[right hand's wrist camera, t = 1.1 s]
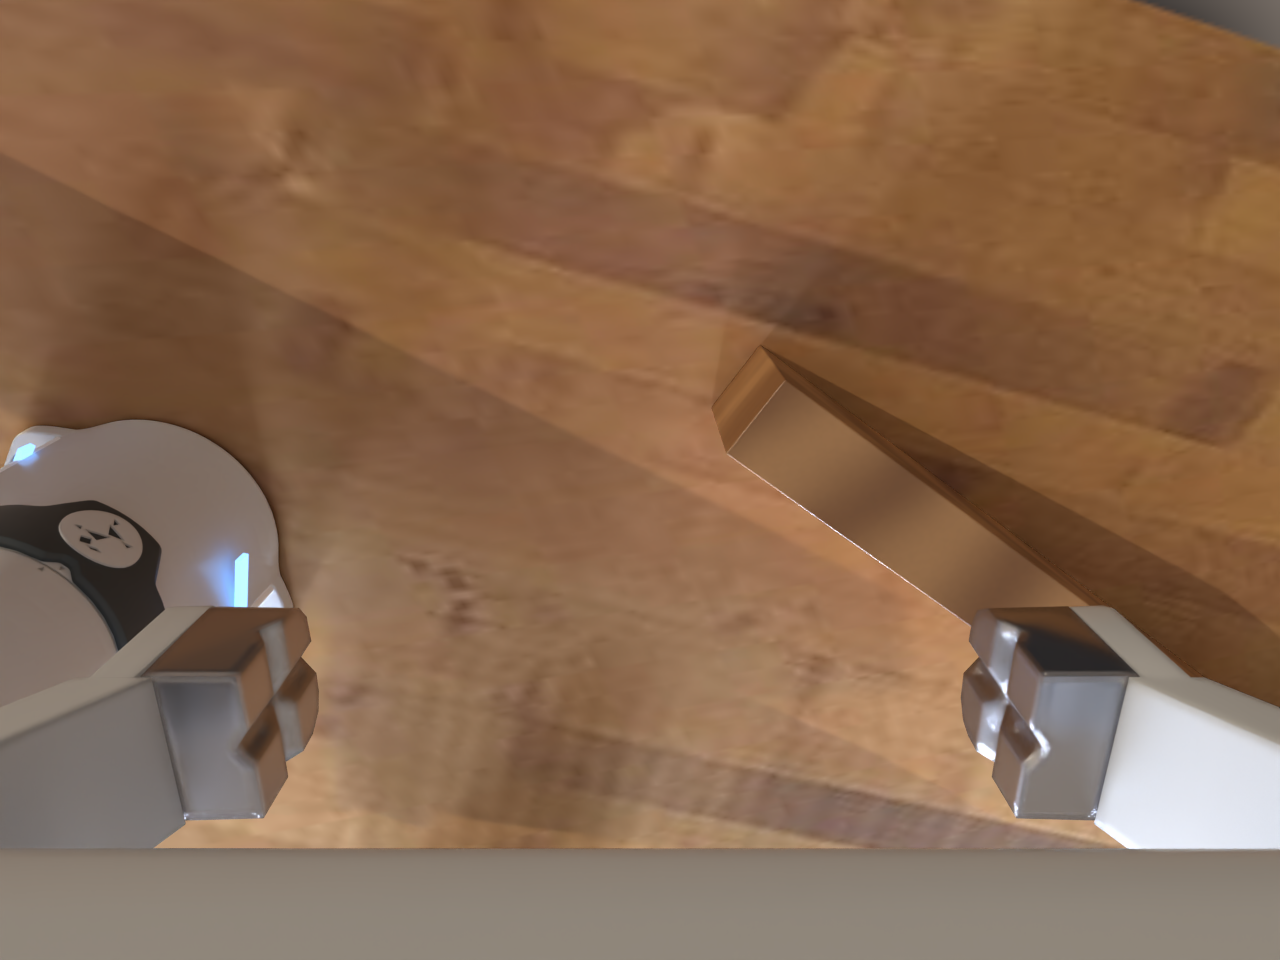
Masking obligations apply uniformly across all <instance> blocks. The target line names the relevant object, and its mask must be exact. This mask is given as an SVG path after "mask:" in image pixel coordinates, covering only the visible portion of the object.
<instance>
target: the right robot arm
mask: <svg viewBox="0 0 1280 960" xmlns="http://www.w3.org/2000/svg"><path fill="white" fill-rule="evenodd" d="M310 642H311V637H310V632H309V627H308V622H307V617H306V616H305V614H304V613H303V612H302V611H301V610H300V609H299V608H293V603H292V600H291V597H290V594H289V592H288V590H287V588H286V585H285V583H284V581H283V579H282V577H281V575H280V571H279V544H278V534H277V528H276V524H275V520H274V517H273V513H272V511H271V508H270V506H269V504H268V502H267V500H266V498H265V496H264V494H263V492H262V490H261V489H260V487H259V486H258V484H257V483H256V481H255V480H254V479H253V477H252V476H251V475H250V474H249V473H248V471H247V470H246V469H245V468H244V467H243V466H242V465H241V464H240V463H239V462H238V461H237V460H236V459H235V458H234V457H232V456H231V455H230V454H229V453H228V452H226V451H225V450H224V449H222V448H221V447H219V446H218V445H217V444H215V443H213V442H212V441H210V440H208V439H207V438H205V437H203V436H201V435H199V434H197V433H195V432H192V431H190V430H188V429H185V428H182V427H179V426H176V425H173V424H168V423H164V422H159V421H152V420H122V421H115V422H110V423H106V424H102V425H99V426H95V427H91V428H86V429H79V430H75V429H69V428H62V427H55V426H33V427H30V428H28V429H26V430H24V431H23V432H21V433H19V434H18V435H17V436H16V437H15V438H14V440H13V442H12V444H11V447H10V450H9V453H8V456H7V459H6V462H5V464H4V467H2V468H0V960H1280V707H1277V706H1275V705H1272V704H1270V703H1267V702H1265V701H1262V700H1260V699H1257V698H1255V697H1252V696H1250V695H1247V694H1245V693H1242V692H1240V691H1237V690H1235V689H1232V688H1230V687H1227V686H1225V685H1222V684H1220V683H1217V682H1215V681H1212V680H1210V679H1207V678H1205V677H1190V676H1189V675H1188V674H1187V673H1185V672H1184V671H1183V670H1182V669H1181V668H1180V667H1179V666H1178V665H1176V664H1175V663H1174V662H1173V661H1172V660H1171V659H1170V658H1169V657H1168V656H1166V655H1165V654H1164V653H1163V652H1162V651H1161V650H1160V649H1159V648H1157V647H1156V646H1155V645H1154V644H1153V643H1152V642H1151V641H1150V640H1149V639H1147V638H1146V637H1145V636H1144V635H1143V634H1142V633H1141V632H1140V631H1139V630H1137V629H1136V628H1135V627H1134V626H1133V625H1132V624H1131V623H1130V622H1128V621H1127V620H1126V619H1125V618H1124V617H1123V616H1122V615H1121V614H1120V613H1118V612H1117V611H1116V610H1115V609H1114V608H1110V607H1107V606H1103V605H1099V606H1077V607H1069V606H1056V607H1014V608H986V609H980V610H977V612H976V615H975V617H974V619H973V621H972V625H971V631H970V637H969V642H970V644H971V645H972V647H973V648H974V650H975V651H976V653H977V655H978V656H979V658H978V659H977V660H976V661H975V662H974V663H973V664H972V665H971V666H970V667H969V668H968V669H967V670H966V671H965V672H964V675H963V683H962V692H961V704H962V714H963V721H964V724H965V727H966V730H967V734H968V736H969V738H970V740H971V742H972V744H973V745H974V747H975V749H976V751H978V752H979V753H981V754H983V755H984V756H986V757H987V758H989V759H991V760H992V761H994V767H993V773H992V778H993V780H994V781H995V783H996V785H997V786H998V788H999V790H1000V791H1001V793H1002V795H1003V796H1004V798H1005V800H1006V801H1007V803H1008V805H1009V806H1010V808H1011V810H1012V811H1013V813H1014V815H1015V816H1016V818H1025V819H1062V820H1095V823H1094V824H1095V825H1097V826H1098V827H1099V828H1101V829H1102V830H1103V831H1105V832H1106V833H1107V834H1109V835H1110V836H1112V837H1113V838H1114V839H1116V840H1117V841H1118V842H1120V843H1121V844H1122V845H1124V846H1125V847H1126V848H1128V849H528V848H526V849H522V848H154V847H155V846H157V845H158V844H159V843H161V842H162V841H163V840H165V839H166V838H167V837H169V836H170V835H172V834H173V833H174V832H176V831H177V830H178V829H180V828H181V827H182V826H184V825H185V820H216V819H252V818H264V816H265V815H266V813H267V811H268V810H269V808H270V806H271V805H272V803H273V801H274V800H275V798H276V796H277V795H278V793H279V791H280V790H281V788H282V786H283V785H284V783H285V781H286V780H287V778H288V773H287V767H286V761H288V760H289V759H291V758H293V757H294V756H296V755H297V754H299V753H301V752H302V751H304V749H305V747H306V745H307V743H308V742H309V740H310V738H311V736H312V734H313V731H314V727H315V723H316V719H317V715H318V709H319V689H318V682H317V675H316V672H315V671H314V670H313V669H312V668H311V667H310V666H309V665H308V664H307V663H306V662H305V661H304V660H303V659H302V658H301V656H302V655H303V653H304V651H305V650H306V648H307V647H308V645H309V644H310Z"/></svg>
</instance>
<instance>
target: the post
mask: <svg viewBox="0 0 1280 960" xmlns="http://www.w3.org/2000/svg"><path fill="white" fill-rule="evenodd" d="M712 411H713V414H714V418H715V421H716V424H717V427H718V430H719V433H720V436H721V439H722V442H723V445H724V448H725V451H726V454H727V455H728V456H730V457H731V458H733V459H734V460H735V461H737V462H738V463H740V464H741V465H743V466H744V467H745V468H747V469H748V470H750V471H751V472H752V473H754V474H755V475H757V476H758V477H760V478H761V479H762V480H764V481H765V482H767V483H768V484H769V485H771V486H772V487H774V488H775V489H777V490H778V491H779V492H781V493H782V494H784V495H785V496H786V497H788V498H789V499H791V500H792V501H794V502H795V503H796V504H798V505H799V506H801V507H802V508H803V509H805V510H806V511H808V512H809V513H811V514H812V515H813V516H815V517H816V518H818V519H819V520H820V521H822V522H823V523H825V524H826V525H827V526H829V527H830V528H832V529H833V530H835V531H836V532H837V533H839V534H840V535H842V536H843V537H844V538H846V539H847V540H849V541H850V542H852V543H853V544H854V545H856V546H857V547H859V548H860V549H861V550H863V551H864V552H866V553H867V554H869V555H870V556H871V557H873V558H874V559H876V560H877V561H878V562H880V563H881V564H883V565H884V566H886V567H887V568H888V569H890V570H891V571H893V572H894V573H895V574H897V575H898V576H900V577H901V578H903V579H904V580H905V581H907V582H908V583H910V584H911V585H912V586H914V587H915V588H917V589H918V590H920V591H921V592H922V593H924V594H925V595H927V596H928V597H929V598H931V599H932V600H934V601H935V602H937V603H938V604H939V605H941V606H942V607H944V608H945V609H946V610H948V611H949V612H951V613H952V614H954V615H955V616H956V617H958V618H959V619H961V620H962V621H963V622H965V623H966V624H968V625H969V626H971V625H972V621H973V619H974V617H975V615H976V612H977V610H980V609H986V608H1014V607H1056V606H1069V607H1077V606H1099V605H1103V606H1107V607H1110V606H1109V605H1107V604H1106V603H1105V602H1103V601H1102V600H1101V599H1099V598H1098V597H1097V596H1095V595H1094V594H1093V593H1091V592H1090V591H1089V590H1087V589H1086V588H1085V587H1083V586H1082V585H1081V584H1079V583H1078V582H1077V581H1075V580H1074V579H1073V578H1071V577H1070V576H1069V575H1067V574H1066V573H1065V572H1063V571H1062V570H1061V569H1059V568H1058V567H1057V566H1055V565H1054V564H1053V563H1051V562H1050V561H1049V560H1047V559H1046V558H1045V557H1043V556H1042V555H1040V554H1039V553H1038V552H1036V551H1035V550H1034V549H1032V548H1031V547H1030V546H1028V545H1027V544H1026V543H1024V542H1023V541H1022V540H1020V539H1019V538H1018V537H1016V536H1015V535H1014V534H1012V533H1011V532H1010V531H1008V530H1007V529H1006V528H1004V527H1003V526H1002V525H1000V524H999V523H998V522H996V521H995V520H994V519H992V518H991V517H990V516H988V515H987V514H986V513H984V512H983V511H982V510H980V509H979V508H978V507H976V506H975V505H974V504H972V503H971V502H970V501H968V500H967V499H966V498H964V497H963V496H962V495H960V494H959V493H958V492H956V491H955V490H954V489H952V488H951V487H950V486H948V485H947V484H946V483H944V482H943V481H942V480H940V479H939V478H938V477H936V476H935V475H934V474H932V473H931V472H930V471H928V470H927V469H926V468H924V467H923V466H922V465H920V464H919V463H918V462H916V461H915V460H914V459H912V458H911V457H910V456H908V455H907V454H906V453H904V452H903V451H902V450H900V449H899V448H898V447H896V446H895V445H894V444H892V443H891V442H889V441H888V440H887V439H885V438H884V437H883V436H881V435H880V434H879V433H877V432H876V431H875V430H873V429H872V428H871V427H869V426H868V425H867V424H865V423H864V422H863V421H861V420H860V419H859V418H857V417H856V416H855V415H853V414H852V413H851V412H849V411H848V410H847V409H845V408H844V407H843V406H841V405H840V404H839V403H837V402H836V401H835V400H833V399H832V398H831V397H829V396H828V395H827V394H825V393H824V392H823V391H821V390H820V389H819V388H817V387H816V386H815V385H813V384H812V383H811V382H809V381H808V380H807V379H805V378H804V377H803V376H801V375H800V374H799V373H797V372H796V371H795V370H793V369H792V368H791V367H789V366H788V365H787V364H785V363H784V362H783V361H781V360H780V359H779V358H777V357H776V356H775V355H773V354H772V353H771V352H769V351H768V350H767V349H765V348H764V347H763V346H761V345H760V346H759V347H758V348H757V349H756V351H755V352H754V353H753V355H752V356H751V357H750V358H749V360H748V361H747V362H746V364H745V365H744V366H743V367H742V369H741V370H740V371H739V373H738V374H737V375H736V376H735V378H734V379H733V380H732V382H731V383H730V384H729V385H728V387H727V388H726V389H725V391H724V392H723V393H722V394H721V396H720V397H719V398H718V400H717V401H716V402H715V403H714V405H713V406H712ZM1110 608H1111V607H1110ZM1124 618H1125V617H1124ZM1125 619H1126V618H1125ZM1126 620H1127V619H1126ZM1127 621H1128V622H1130V621H1129V620H1127ZM1130 623H1131V622H1130ZM1131 624H1132V625H1133V626H1134V627H1135V628H1136V629H1137V630H1139V631H1140V632H1141V633H1142V634H1143V635H1144V636H1145V637H1146V638H1147V639H1149V640H1150V641H1151V642H1152V643H1153V644H1154V645H1155V646H1156V647H1157V648H1159V649H1160V650H1161V651H1162V652H1163V653H1164V654H1165V655H1166V656H1168V657H1169V658H1170V659H1171V660H1172V661H1173V662H1174V663H1175V664H1176V665H1178V666H1179V667H1180V668H1181V669H1182V670H1183V671H1184V672H1185V673H1187V674H1188V675H1189V676H1190V677H1204V676H1202V675H1201V674H1200V673H1198V672H1197V671H1195V670H1194V669H1193V668H1191V667H1190V666H1189V665H1187V664H1186V663H1185V662H1183V661H1182V660H1181V659H1179V658H1178V657H1177V656H1175V655H1174V654H1173V653H1171V652H1170V651H1169V650H1167V649H1166V648H1165V647H1163V646H1162V645H1161V644H1159V643H1158V642H1157V641H1155V640H1154V639H1153V638H1151V637H1150V636H1149V635H1147V634H1146V633H1145V632H1143V631H1142V630H1141V629H1139V628H1138V627H1137V626H1135V625H1134V624H1133V623H1131Z"/></svg>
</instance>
